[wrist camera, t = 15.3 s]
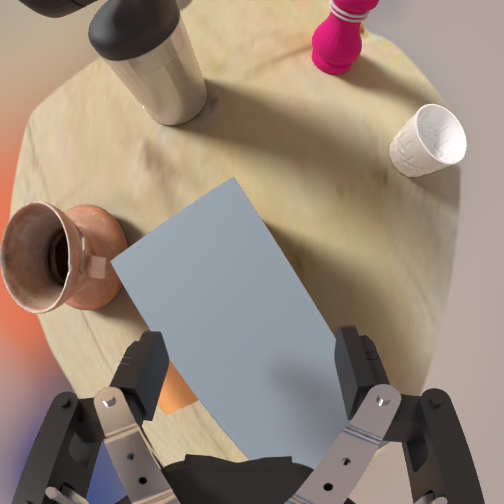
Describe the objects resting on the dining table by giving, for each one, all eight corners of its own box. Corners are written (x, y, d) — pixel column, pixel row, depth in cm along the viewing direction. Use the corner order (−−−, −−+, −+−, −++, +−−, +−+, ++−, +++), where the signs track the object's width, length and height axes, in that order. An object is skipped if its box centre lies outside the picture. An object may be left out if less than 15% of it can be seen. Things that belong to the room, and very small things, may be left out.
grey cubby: (276, 403, 39) (283, 496, 20) (179, 257, 40) (110, 261, 20) (342, 365, 39) (394, 439, 20) (247, 213, 39) (233, 176, 20)
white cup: (425, 133, 38) (459, 109, 28) (433, 182, 38) (471, 167, 28) (381, 129, 39) (409, 99, 29) (388, 180, 39) (421, 161, 29)
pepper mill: (360, 75, 39) (405, -11, 19) (318, 80, 39) (347, -15, 19) (342, 41, 39) (373, -45, 19) (301, 46, 39) (318, -48, 19)
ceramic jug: (152, 214, 40) (98, 194, 26) (139, 318, 40) (83, 343, 25) (56, 203, 41) (-6, 187, 27) (45, 292, 41) (-17, 301, 26)
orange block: (188, 378, 40) (165, 415, 29) (168, 349, 40) (138, 378, 29) (217, 362, 39) (202, 398, 28) (197, 332, 39) (174, 359, 28)
